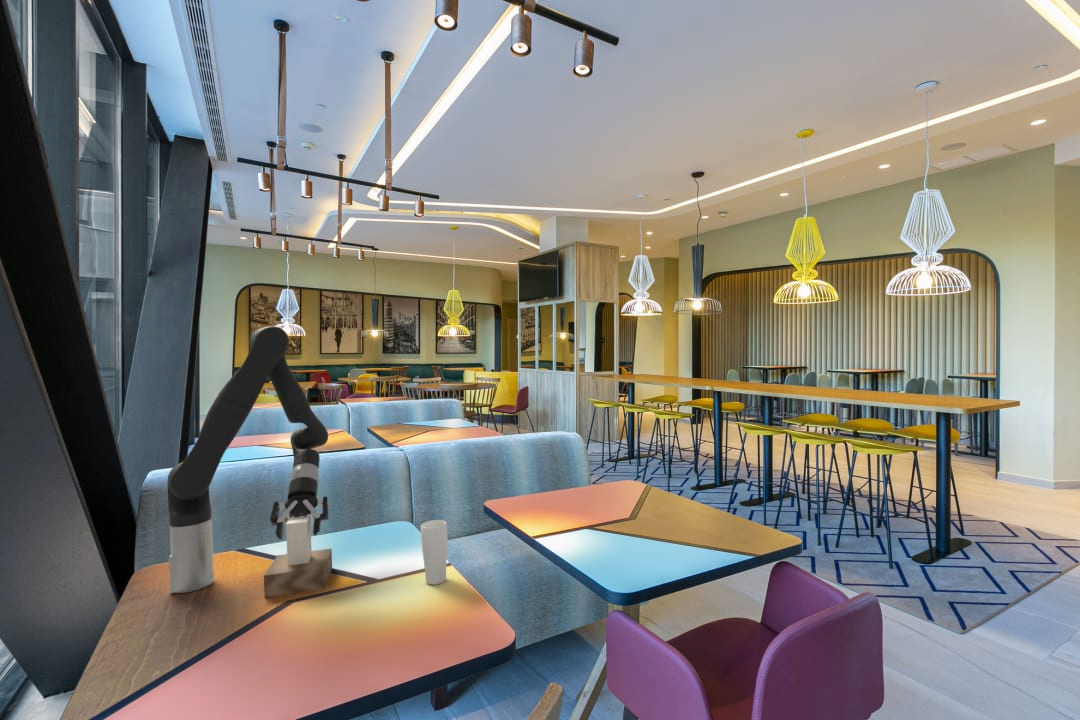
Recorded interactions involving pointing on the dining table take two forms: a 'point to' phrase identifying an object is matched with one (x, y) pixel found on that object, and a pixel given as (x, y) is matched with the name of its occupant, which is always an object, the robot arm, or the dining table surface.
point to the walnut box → (298, 574)
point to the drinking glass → (434, 550)
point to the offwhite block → (298, 540)
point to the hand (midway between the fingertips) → (297, 535)
